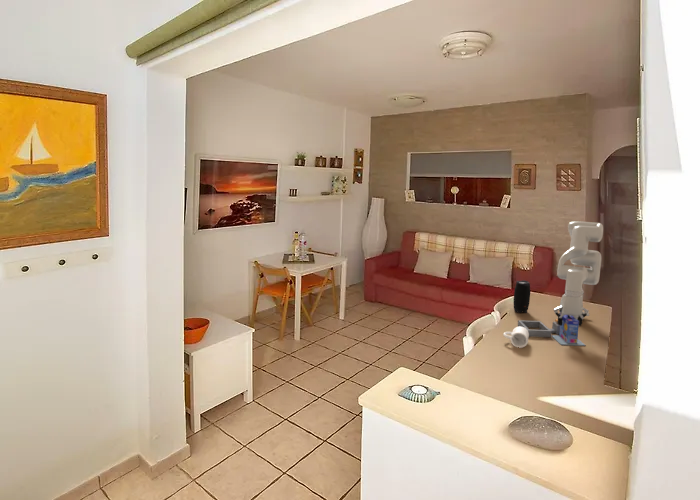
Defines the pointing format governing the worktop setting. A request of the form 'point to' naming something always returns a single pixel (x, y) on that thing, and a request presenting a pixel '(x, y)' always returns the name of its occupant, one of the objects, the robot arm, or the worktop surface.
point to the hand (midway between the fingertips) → (569, 325)
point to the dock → (543, 330)
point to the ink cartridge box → (569, 329)
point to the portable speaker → (521, 296)
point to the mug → (518, 336)
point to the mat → (565, 342)
